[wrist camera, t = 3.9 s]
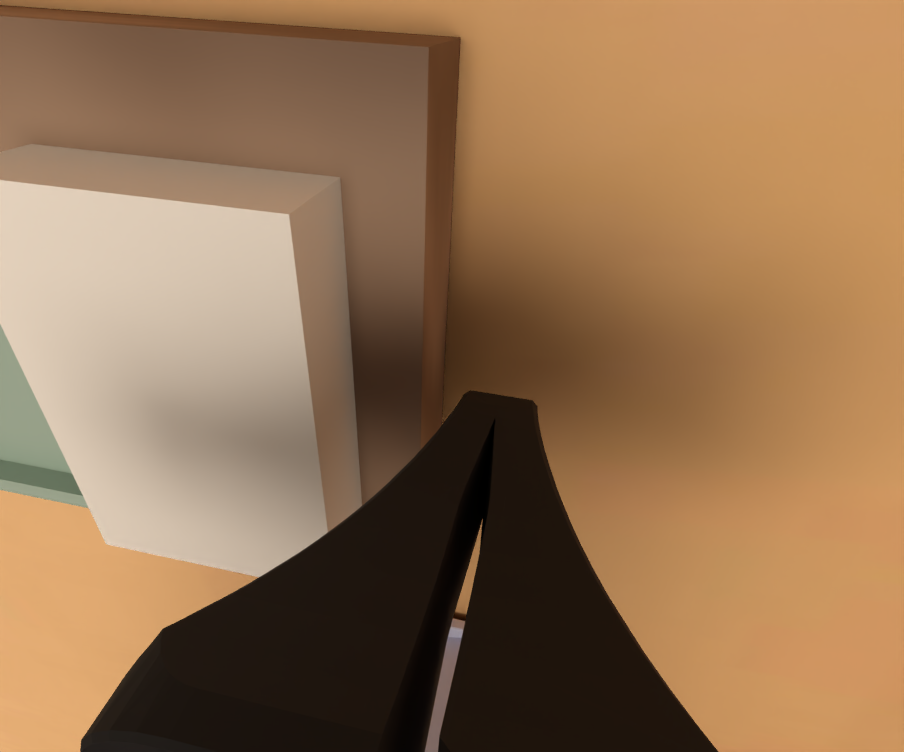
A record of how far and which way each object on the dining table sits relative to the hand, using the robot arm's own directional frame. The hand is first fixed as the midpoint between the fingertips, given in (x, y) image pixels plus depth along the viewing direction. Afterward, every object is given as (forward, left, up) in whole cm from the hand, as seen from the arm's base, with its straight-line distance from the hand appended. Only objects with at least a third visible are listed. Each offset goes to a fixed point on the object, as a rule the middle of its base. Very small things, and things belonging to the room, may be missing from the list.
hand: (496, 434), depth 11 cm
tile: (0, +6, -1) cm, 6 cm away
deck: (0, +7, -3) cm, 7 cm away
